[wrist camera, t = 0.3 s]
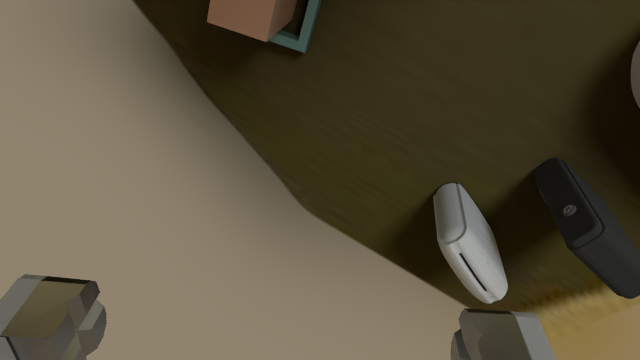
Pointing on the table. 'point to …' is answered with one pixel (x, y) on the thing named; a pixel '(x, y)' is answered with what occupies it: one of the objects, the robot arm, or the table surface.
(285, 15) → the brown tall block
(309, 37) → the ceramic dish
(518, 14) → the table surface
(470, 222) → the photo printer
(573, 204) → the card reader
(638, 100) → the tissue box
